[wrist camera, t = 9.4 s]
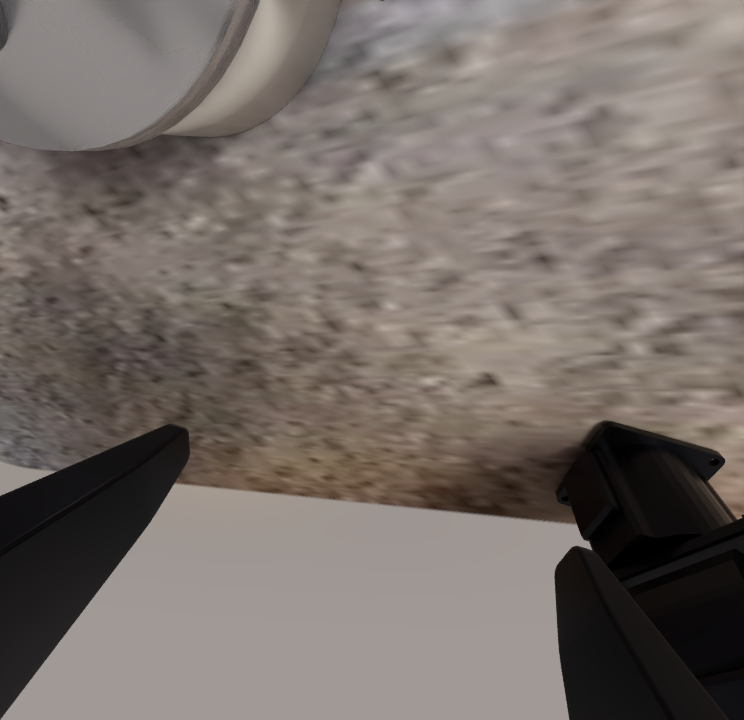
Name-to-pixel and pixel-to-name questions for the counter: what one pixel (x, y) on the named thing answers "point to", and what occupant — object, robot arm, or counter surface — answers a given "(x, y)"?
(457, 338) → the counter surface
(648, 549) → the robot arm
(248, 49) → the cooker pot
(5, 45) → the cooker lid
